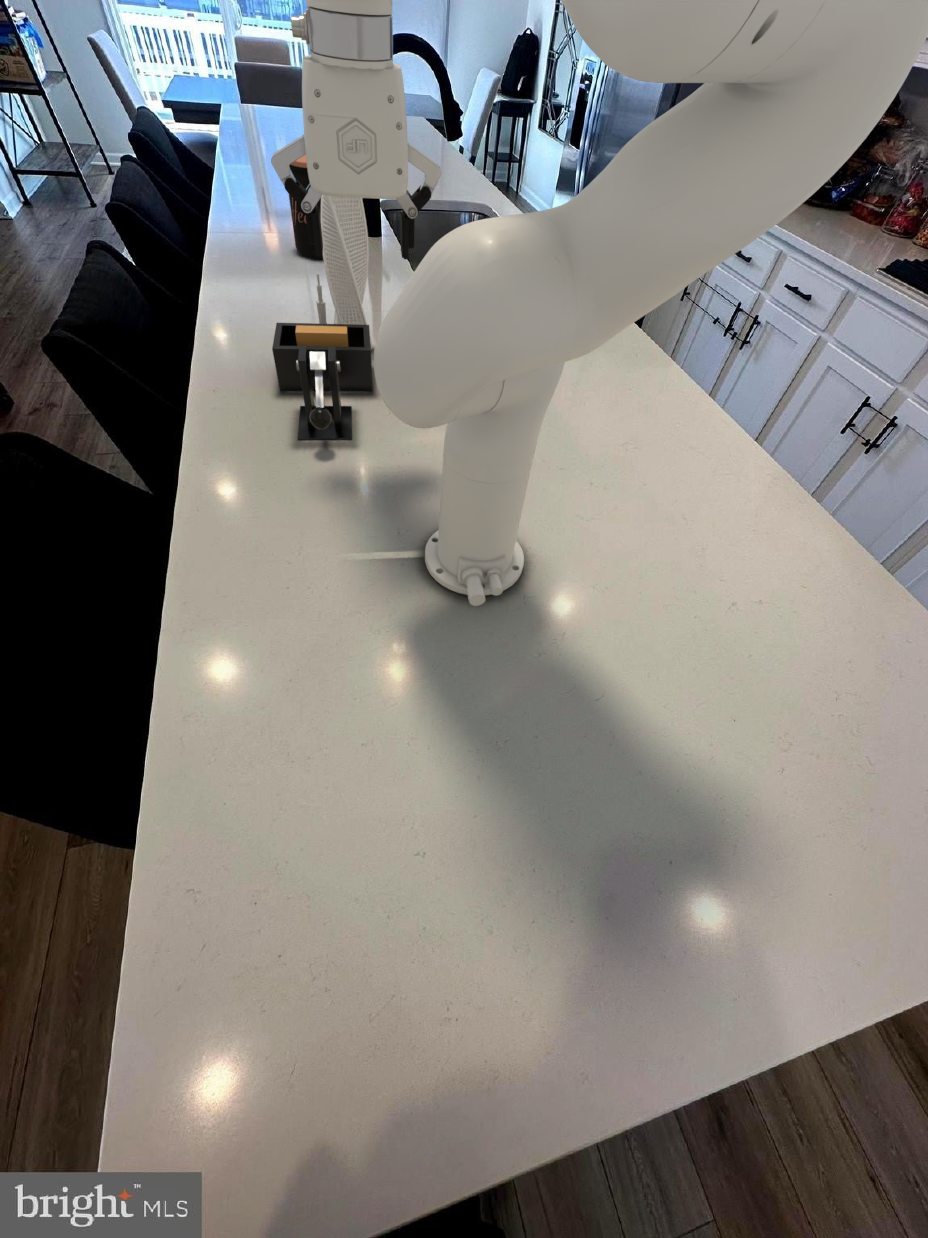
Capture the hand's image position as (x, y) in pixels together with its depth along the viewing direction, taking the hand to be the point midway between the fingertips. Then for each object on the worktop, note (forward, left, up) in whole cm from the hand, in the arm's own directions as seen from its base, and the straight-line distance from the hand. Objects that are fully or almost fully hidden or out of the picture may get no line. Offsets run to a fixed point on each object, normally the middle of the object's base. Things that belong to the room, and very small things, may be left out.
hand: (362, 253), depth 64 cm
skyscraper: (+32, +3, -26) cm, 42 cm away
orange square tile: (+20, +7, -26) cm, 33 cm away
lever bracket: (+6, +7, -26) cm, 28 cm away
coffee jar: (+80, +10, -26) cm, 85 cm away
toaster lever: (+3, +7, -20) cm, 21 cm away
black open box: (+20, +7, -26) cm, 34 cm away
